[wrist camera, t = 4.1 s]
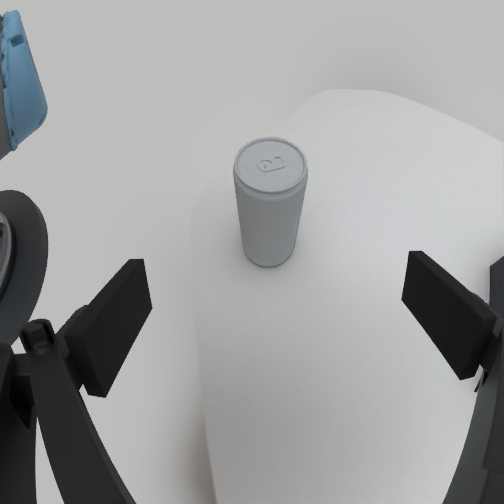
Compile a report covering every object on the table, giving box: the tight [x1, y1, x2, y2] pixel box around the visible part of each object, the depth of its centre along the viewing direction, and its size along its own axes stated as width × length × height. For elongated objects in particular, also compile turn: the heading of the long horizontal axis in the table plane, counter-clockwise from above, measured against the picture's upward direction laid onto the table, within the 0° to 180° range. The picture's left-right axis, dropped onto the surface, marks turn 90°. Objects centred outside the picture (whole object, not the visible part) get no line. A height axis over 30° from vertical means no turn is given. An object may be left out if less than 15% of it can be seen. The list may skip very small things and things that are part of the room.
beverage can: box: [233, 137, 308, 267], centre depth 25 cm, size 5×5×12 cm
